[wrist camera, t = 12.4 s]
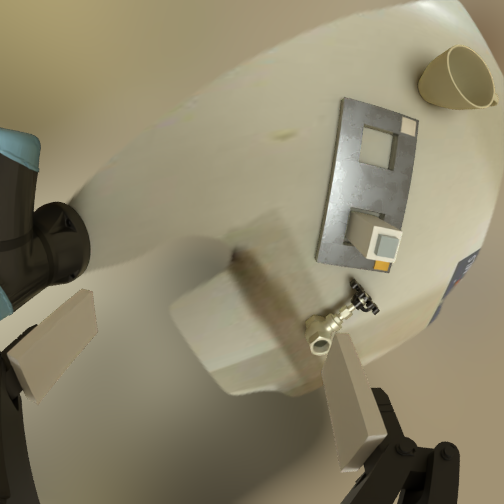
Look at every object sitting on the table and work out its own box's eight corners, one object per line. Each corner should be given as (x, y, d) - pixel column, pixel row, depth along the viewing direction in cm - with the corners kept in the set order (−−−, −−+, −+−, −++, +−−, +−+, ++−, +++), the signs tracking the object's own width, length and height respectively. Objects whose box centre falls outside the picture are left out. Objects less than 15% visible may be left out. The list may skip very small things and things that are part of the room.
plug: (345, 236, 41) (368, 261, 31) (350, 210, 40) (377, 227, 29) (368, 240, 41) (397, 266, 31) (374, 215, 40) (406, 233, 29)
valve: (318, 341, 47) (371, 298, 44) (323, 365, 41) (385, 317, 38) (293, 319, 46) (349, 272, 43) (296, 342, 40) (361, 290, 37)
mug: (427, 129, 35) (472, 123, 23) (397, 73, 33) (435, 50, 21) (466, 109, 33) (511, 102, 21) (440, 57, 30) (480, 38, 19)
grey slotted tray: (314, 257, 42) (317, 263, 40) (341, 100, 35) (345, 96, 33) (384, 268, 42) (389, 273, 40) (412, 121, 35) (419, 120, 33)
